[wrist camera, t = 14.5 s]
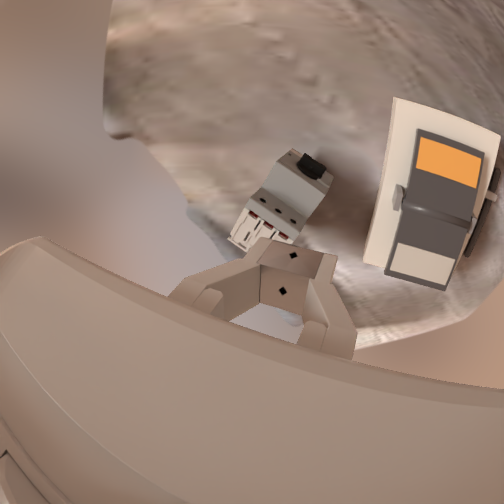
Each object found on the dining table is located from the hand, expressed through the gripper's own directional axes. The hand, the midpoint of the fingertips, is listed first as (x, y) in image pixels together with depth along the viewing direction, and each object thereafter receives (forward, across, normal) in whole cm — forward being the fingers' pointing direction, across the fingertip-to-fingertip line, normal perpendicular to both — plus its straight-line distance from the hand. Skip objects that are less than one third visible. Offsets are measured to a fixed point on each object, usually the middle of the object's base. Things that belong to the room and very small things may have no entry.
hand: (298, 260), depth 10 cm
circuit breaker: (+35, +8, +11) cm, 38 cm away
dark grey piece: (+35, -24, +7) cm, 43 cm away
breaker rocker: (+26, -13, +7) cm, 29 cm away
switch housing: (+35, -13, +7) cm, 38 cm away
